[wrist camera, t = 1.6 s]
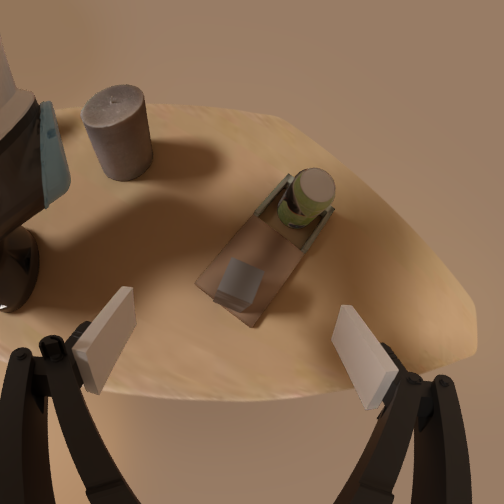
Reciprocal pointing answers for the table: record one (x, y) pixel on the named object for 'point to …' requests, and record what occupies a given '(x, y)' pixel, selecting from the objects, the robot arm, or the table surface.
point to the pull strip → (254, 264)
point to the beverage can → (306, 197)
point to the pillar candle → (119, 131)
